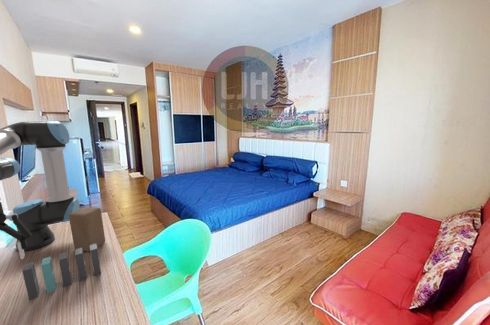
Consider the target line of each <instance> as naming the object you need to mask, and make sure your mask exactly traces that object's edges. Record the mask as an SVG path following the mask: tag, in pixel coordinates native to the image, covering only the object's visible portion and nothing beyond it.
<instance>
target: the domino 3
mask: <svg viewBox="0 0 490 325" xmlns="http://www.w3.org/2000/svg"><path fill="white" fill-rule="evenodd" d="M58 262H59V263H58V264H59V267H60V273H61V278H62V283H63V288H66V287H68V286H71V285H73V284H72V283H73V281H72V280H73V277H72V271H71V265H70V259H69V255H68V252H67V251H66V252H65V251H64V252H62V253H59V254H58Z"/></svg>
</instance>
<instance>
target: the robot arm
mask: <svg viewBox="0 0 490 325" xmlns="http://www.w3.org/2000/svg"><path fill="white" fill-rule="evenodd" d="M69 142H70V133H69V131H68V129H67V126H66V125H65V124H64V123H62V122H61V121H53V120H52V121H51V120H49V121H47V120H46V121H20V122H16V123H12V124H10V125H6V126H4V127H2V128H0V156H2V155H3V154H4V153H6V152H7V151H9V150H14V149H16V148H18V147H21V146H35V148H36V150H38V151H39V152H40V154H41V159H42V165H43V172H44V176H45V183H46V188H47V194H48V197H47V198H46V199H45V202H44V200H43V199H42V198H41V199H40V198H39V199H32V200H29V201H26V202H23V203H19V204H17V205H16V206H15V207H14V208H13V210H12V212H13V213H12V214H8V215H6V214H5V213H4V209H3V204H2V202H1V198H0V231H1V232H4V233H5V234H7V235H9V236H11V237H13V238H14V239H16V241H15V248H16V251H18V253H19V257H20V260H24V258H25V255H26V254H25V252H27V251H34V250H37V249H40V248H42V247H45V246H47V245H49V244H50V243H52V242H54V240H55V234H54V232H53V231H52V230H51V228H50V226H49V225H50V224H57V223H58V224H59V223H67V222H70V220H69V214H70V213H72V212H75V211H77V210H80V201H79V199H77V198H74V194H72V193H70V187H69V182H68V177H67V176H68V175H67V171H66V170H67V169H66V163H65V157H64V149H66V146H67V144H69ZM20 170H21V165H20V163H19V161H18V160H16V159H14V158H11V157H0V181H3V180H7V179H10V178H12V177H13V176H16V175H17V174H19V173H20ZM6 220H8V221H11V222H12V223H13V224H14V225H15V227H16V229H15V228H13V227H12V226H10V225H8V224H7V223H6V222H5V221H6Z"/></svg>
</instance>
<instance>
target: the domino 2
mask: <svg viewBox="0 0 490 325" xmlns="http://www.w3.org/2000/svg"><path fill="white" fill-rule="evenodd" d="M40 266H41V272H42V276H43V281H44V284H45V290H46V293H47V294H49V293H52V292H55V291H56V290H55V289H56V288H57V287H56V286H57V281H56V275H55V271H54V265H53V261H52V257H51V256H48V257H44V258H42V261H41V263H40ZM54 290H55V291H54Z"/></svg>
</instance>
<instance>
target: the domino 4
mask: <svg viewBox="0 0 490 325" xmlns="http://www.w3.org/2000/svg"><path fill="white" fill-rule="evenodd" d="M74 256H75V262H76V267H77V268H76V269H77V272H78V277H79V282H82V281H85V280H87V279H88V278H87V277H88V276H87V268H86V262H85V258H84V257H85V256H84V251H83V250H82V248H78V249H75V248H74Z"/></svg>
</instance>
